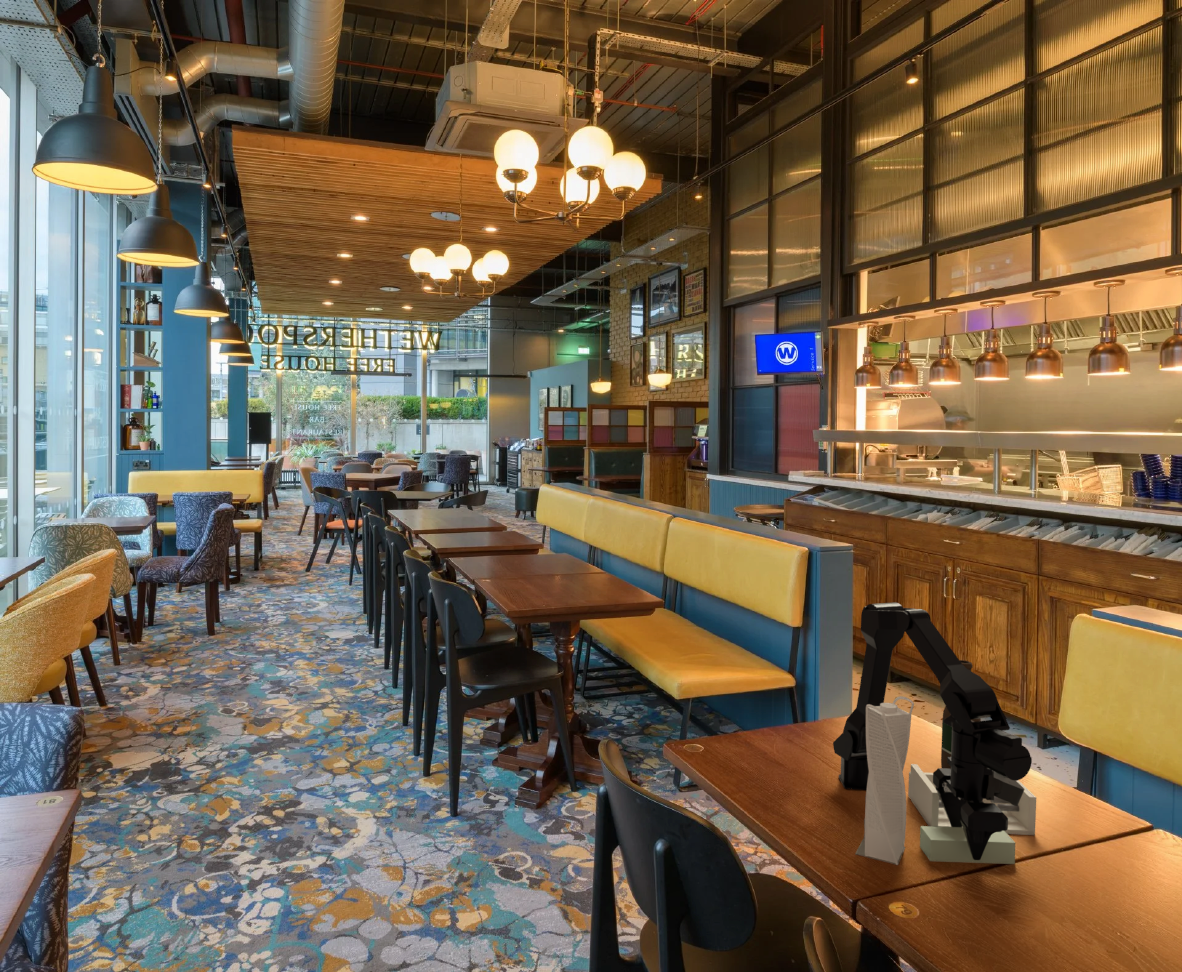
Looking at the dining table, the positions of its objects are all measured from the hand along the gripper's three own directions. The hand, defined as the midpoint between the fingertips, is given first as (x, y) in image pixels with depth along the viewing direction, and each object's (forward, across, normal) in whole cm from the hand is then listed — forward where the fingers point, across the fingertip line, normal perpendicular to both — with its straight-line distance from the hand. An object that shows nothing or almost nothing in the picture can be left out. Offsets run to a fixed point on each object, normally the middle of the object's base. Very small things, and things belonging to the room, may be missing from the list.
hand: (966, 846), depth 140 cm
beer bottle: (+2, +38, -12) cm, 40 cm away
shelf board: (+2, 0, 0) cm, 2 cm away
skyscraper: (+2, -1, +14) cm, 14 cm away
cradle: (+2, +15, -6) cm, 16 cm away
